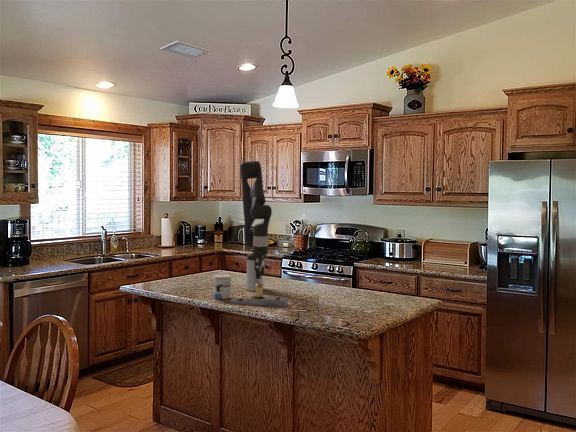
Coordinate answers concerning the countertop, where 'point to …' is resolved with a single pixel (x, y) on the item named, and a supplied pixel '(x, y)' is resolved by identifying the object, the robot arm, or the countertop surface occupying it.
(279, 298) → the link plates
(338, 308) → the countertop surface
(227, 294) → the ink box
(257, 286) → the link pin
